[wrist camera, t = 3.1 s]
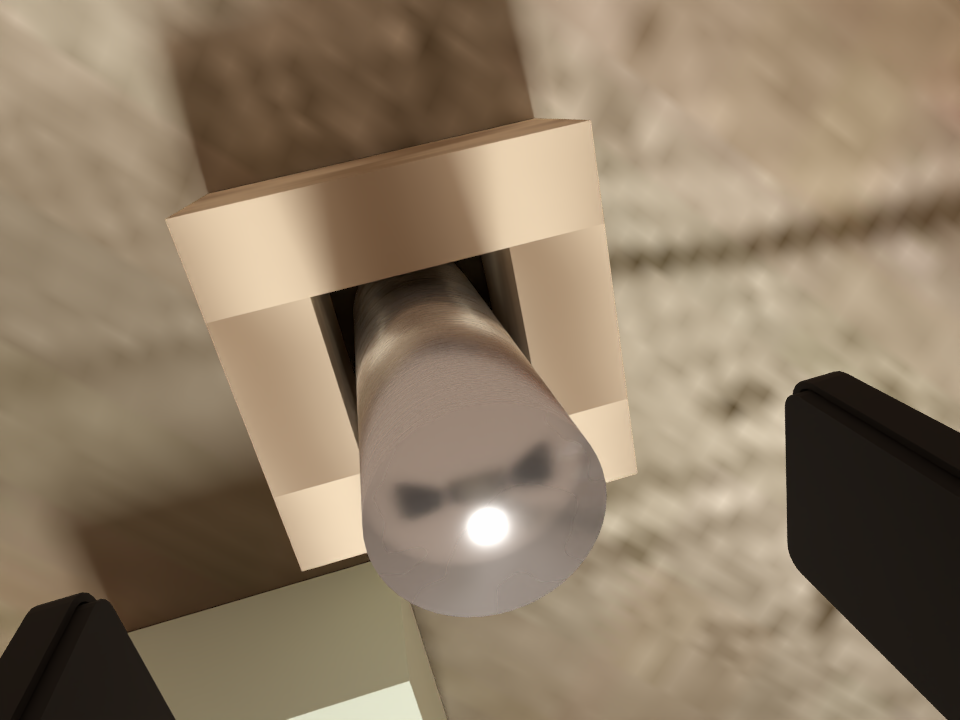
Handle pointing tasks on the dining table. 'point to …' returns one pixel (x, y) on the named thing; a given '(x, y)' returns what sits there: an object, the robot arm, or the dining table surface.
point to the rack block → (297, 655)
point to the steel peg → (464, 453)
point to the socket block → (390, 252)
